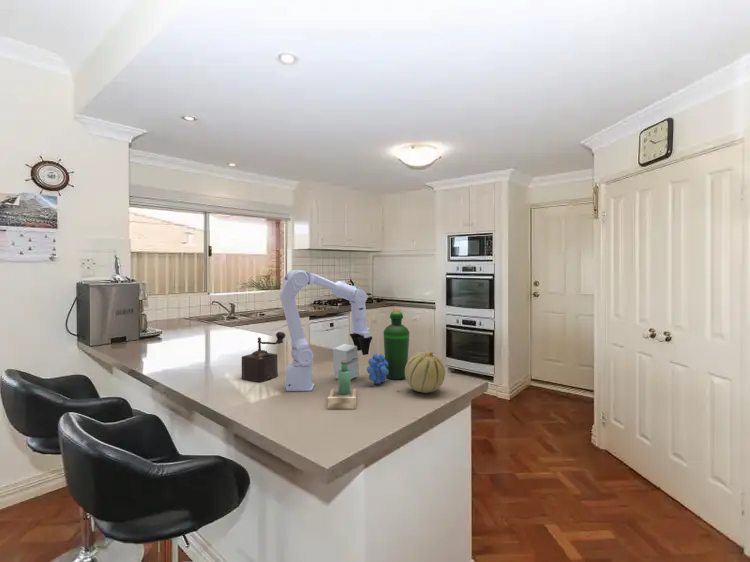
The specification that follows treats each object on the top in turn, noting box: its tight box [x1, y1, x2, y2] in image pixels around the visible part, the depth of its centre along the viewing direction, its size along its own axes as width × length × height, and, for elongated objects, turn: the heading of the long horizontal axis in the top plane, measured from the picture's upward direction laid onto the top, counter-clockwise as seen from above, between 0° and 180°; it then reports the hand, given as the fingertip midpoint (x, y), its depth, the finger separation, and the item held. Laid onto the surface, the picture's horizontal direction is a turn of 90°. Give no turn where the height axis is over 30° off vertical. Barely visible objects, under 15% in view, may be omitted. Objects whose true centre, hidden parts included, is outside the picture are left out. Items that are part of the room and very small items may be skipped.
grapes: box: [366, 353, 389, 385], centre depth 156 cm, size 12×7×12 cm, turn 138°
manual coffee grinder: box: [241, 331, 286, 384], centre depth 167 cm, size 16×11×18 cm
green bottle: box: [337, 361, 352, 396], centre depth 146 cm, size 4×4×11 cm
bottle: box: [383, 308, 410, 381], centre depth 166 cm, size 11×11×28 cm
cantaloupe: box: [404, 350, 446, 394], centre depth 147 cm, size 15×15×15 cm
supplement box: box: [332, 343, 360, 380], centre depth 164 cm, size 7×7×13 cm
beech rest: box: [327, 388, 358, 410], centre depth 136 cm, size 9×13×4 cm
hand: (362, 352), depth 162 cm, fingers open, 7 cm apart
